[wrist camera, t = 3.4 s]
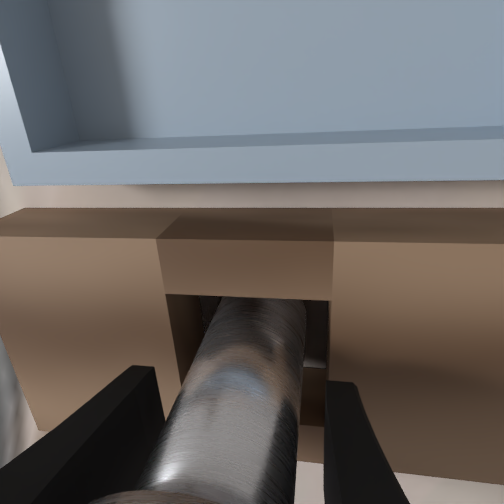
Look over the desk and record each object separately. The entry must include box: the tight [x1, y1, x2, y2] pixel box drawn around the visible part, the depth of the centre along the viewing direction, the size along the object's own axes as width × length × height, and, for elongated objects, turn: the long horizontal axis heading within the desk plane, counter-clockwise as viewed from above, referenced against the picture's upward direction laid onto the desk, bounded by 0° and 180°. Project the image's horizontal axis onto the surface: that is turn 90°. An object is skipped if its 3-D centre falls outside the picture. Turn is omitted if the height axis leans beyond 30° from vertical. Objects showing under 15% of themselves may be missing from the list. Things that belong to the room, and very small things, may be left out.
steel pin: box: [89, 296, 307, 504], centre depth 9 cm, size 4×4×8 cm
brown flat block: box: [0, 208, 504, 485], centre depth 12 cm, size 8×16×2 cm, turn 93°
